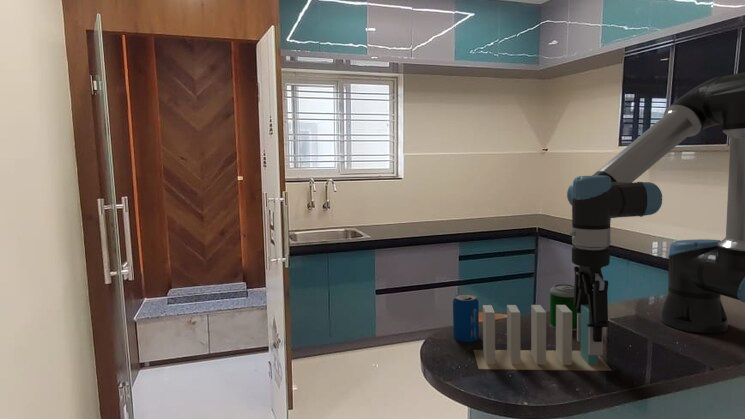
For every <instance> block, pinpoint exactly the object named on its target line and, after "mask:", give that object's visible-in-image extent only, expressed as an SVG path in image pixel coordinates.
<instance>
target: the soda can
mask: <svg viewBox="0 0 745 419" xmlns="http://www.w3.org/2000/svg"><path fill="white" fill-rule="evenodd" d="M573 304H574V285H572V284H568V283H558V284H554V285H553V287H551V288H550V289H549V327H550V328H553V329H554V330H556V305H566V306H567V307H568V308H569V309H570V310H571V311H572V332H573V331H576V332H577V313H578V312H577V311H576V307H574V305H573Z"/></svg>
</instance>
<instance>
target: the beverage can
mask: <svg viewBox="0 0 745 419" xmlns="http://www.w3.org/2000/svg"><path fill="white" fill-rule="evenodd" d="M477 298H478V296H477V295H475V294H473V293H465V292H463V293H457V294H455V295H454V298H453V299H452V322H453V323H452V324H453V325H452V326H453V339H454V340H456V341H458V342H462V343H473V342H474V343H475V342H476V341H478V340H479V339H480V321H479V319H480V318H479V317H480V316H479V314H480V313H479V310H480V309H479V300H478V299H477Z"/></svg>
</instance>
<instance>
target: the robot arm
mask: <svg viewBox="0 0 745 419" xmlns="http://www.w3.org/2000/svg"><path fill="white" fill-rule="evenodd" d="M718 125H719V126H720V125H722V132H723V134H725V135H726V136H728V138H729V139H730V140H729V141H730V142H729V144H730V145H729V159H728V160H729V162H728V163H729V164H728V182H727V183H728V185H727V202H726V204H727V206H726V225H725V226H726V228H725V237H724V238H723V239H722V240H720V239H709V238H708V239H707V238H705V239H704V238H703V239H681V240H675V241H673V242H671V243H670V246H669V252H668V269H667V270H668V271H667V272H668V273H667V275H668V279H667V280H668V284H667V295H666V296H665V298H664V302H663V304H662V306H661V308H660V311H659V320H660V322H662V323H663V324H664V325H667V326H668V327H671V328H674V329H677V330H681V331H686V332H691V333H699V334H720V333H725V332H726V331H728V328H729V327H728V326H729V320H728V316H727V314H726V312H725V309H724V308H725V307H724V305H723V303H722V297H721V296H724V297H726V298H731V299H734V300H737V301H740V302H742V303H744V304H745V71H743V72H739V73H732V74H729V75H723V76H718V77H715V78H714V77H713V78H710V79H709V80H706V81H704V82H702V83H701V84H698V85H697V86H696V87H693V89H691V90H689V91H688V92H686V93H684V94H683V95H682V96H681V97H679V98H678V99H677V100H675V101H674V102H673V103H672V104H670V105H669V106H668V107H667V108H666V109H665V110H664V112H663V116H662V117H661V118H660V119H659V120H657V121H656V122H655V123H653V124H652V125H651V126H650V127H649V128H648V129H647V130H646V131H644V132H643V133H641V135H639V136H638V137H637V138H636V139H635V140H633V141H632V142H631V143H630V144H628V145H627V146H626V147H625V148H623V149H622V150H621V151H620V152H619V153H617V155H615V156H614V157H613V158H611V159H610V160H609V161H608V162H607V163H605V164H604V165H603V166H602V167H601V168H600V169H598V170H597V171H596V172H594V173H593V174H592V175H580V176H577V177H575V178H574V179H573V181H572V183H571V184H570V185H569V187H568V188H567V192H566V193H567V194H566V197H567V201H568V203H569V205H571V218H572V219H571V226H572V227H571V228H572V231H570V232H569V236H570V237H571V243H572V245H573V246H572V248H571V262H572V264H574V265H576V266H574V268H573V271H574V285H573V286H574V304H573V305H574V307H576V311H577V312H578V313H577V330H576V341H577V342H578V343H579V342H580V343H581V305H589V313H590V324H587V326H588V327H589V333H588V354H589V355H599V356H603V354H604V352H603V351H604V350H603V349H604V348H603V346H604V328H608V327H609V308H608V307H609V306H608V305H609V304H608V291H609V281H608V280H605V279H604V276H603V274H602V268H603V267H607V266H609V265H610V263H611V262H610V261H611V260H610V258H611V256H610V254H611V249H610V248H609V246H611V232H612V231H611V229H612V228H611V221H612V219H617V218H629V217H630V218H633V217H640V218H642V217H645V216H651V215H654V214H657V212H659V210H660V209H661V207H662V205H663V194H662V191H661V189H660V187H659V186H658V185H657V184H655V183H654V182H650V181H636V180H637V179H638V178H639V177H640V176H642V175H643V174H644V173H646V172H647V171H648V170H649V169H650V168H652V167H653V166H655V164H657V162H659V161H660V160H661V159H662V158H664V157H665V156H666V155H667V154H669V153H670V152H671V151H672V150H673V149H674V148H676V147H677V146H678V145H679V144H680V143H682V142H683V141H684V140H686V139H687V137H688V138H690V137H694V136H696V135H698V134H699V133H700V132H702V131H703V130H704V129H708V128H710V127H714V126H718Z"/></svg>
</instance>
